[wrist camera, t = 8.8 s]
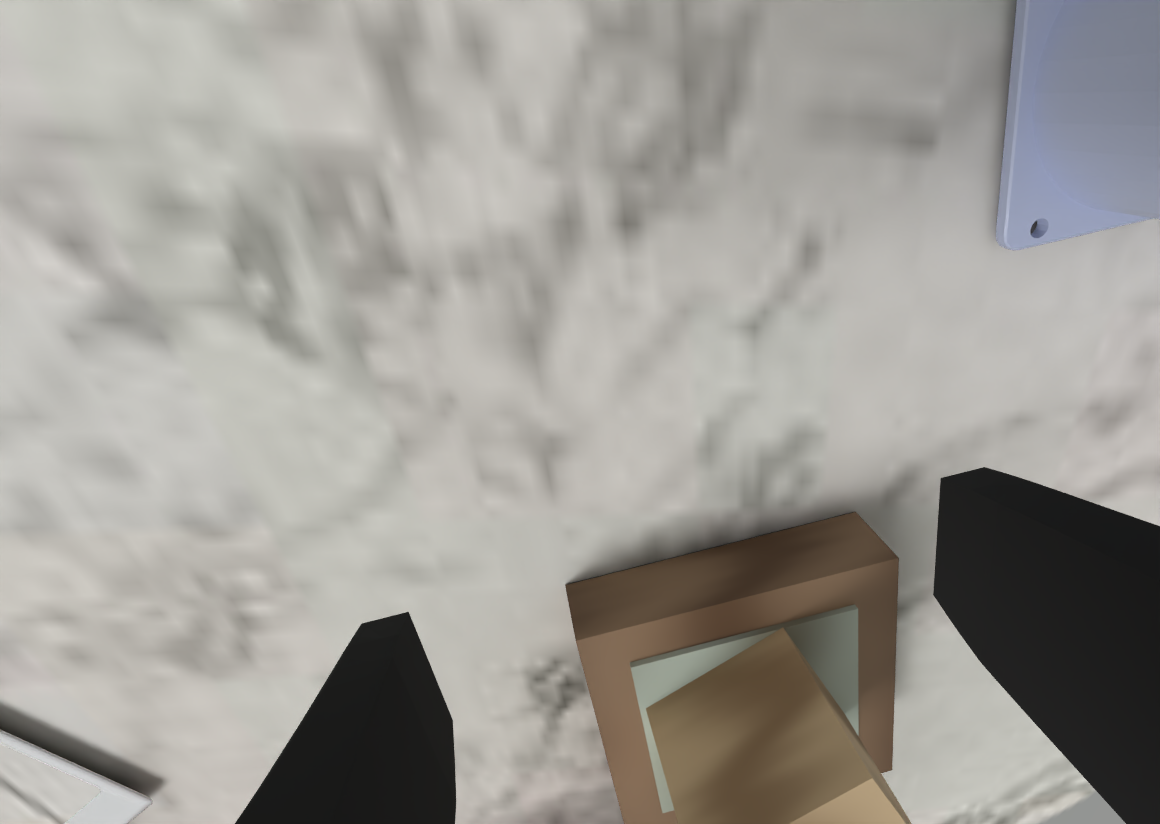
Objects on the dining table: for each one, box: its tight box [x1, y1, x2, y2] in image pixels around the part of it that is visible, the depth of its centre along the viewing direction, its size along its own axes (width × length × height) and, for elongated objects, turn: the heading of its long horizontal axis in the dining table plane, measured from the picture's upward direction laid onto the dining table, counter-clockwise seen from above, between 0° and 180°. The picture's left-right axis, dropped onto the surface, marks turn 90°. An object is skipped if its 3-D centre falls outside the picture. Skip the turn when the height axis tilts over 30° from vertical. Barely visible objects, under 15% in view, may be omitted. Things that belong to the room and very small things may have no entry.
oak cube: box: [646, 628, 911, 824], centre depth 19 cm, size 5×5×5 cm
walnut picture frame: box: [565, 512, 899, 824], centre depth 23 cm, size 10×10×3 cm
